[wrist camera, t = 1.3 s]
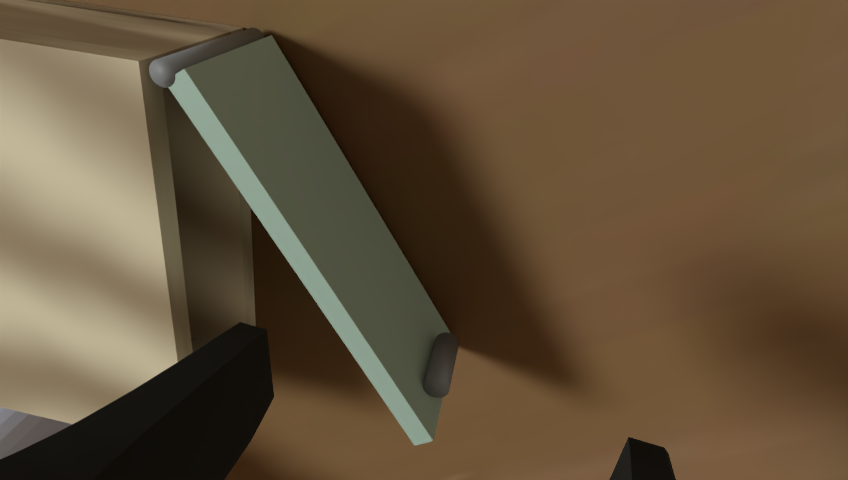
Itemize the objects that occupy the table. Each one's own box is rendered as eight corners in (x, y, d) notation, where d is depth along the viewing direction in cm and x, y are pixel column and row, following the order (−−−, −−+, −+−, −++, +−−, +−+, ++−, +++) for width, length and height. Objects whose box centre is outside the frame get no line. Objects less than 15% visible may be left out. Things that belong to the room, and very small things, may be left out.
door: (474, 334, 26) (457, 435, 21) (434, 347, 27) (407, 447, 22) (283, 6, 21) (196, 31, 16) (240, 34, 22) (143, 67, 16)
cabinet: (256, 353, 30) (189, 452, 24) (96, 318, 31) (-5, 406, 25) (243, 27, 22) (138, 61, 16) (28, -5, 23) (-141, 16, 17)
